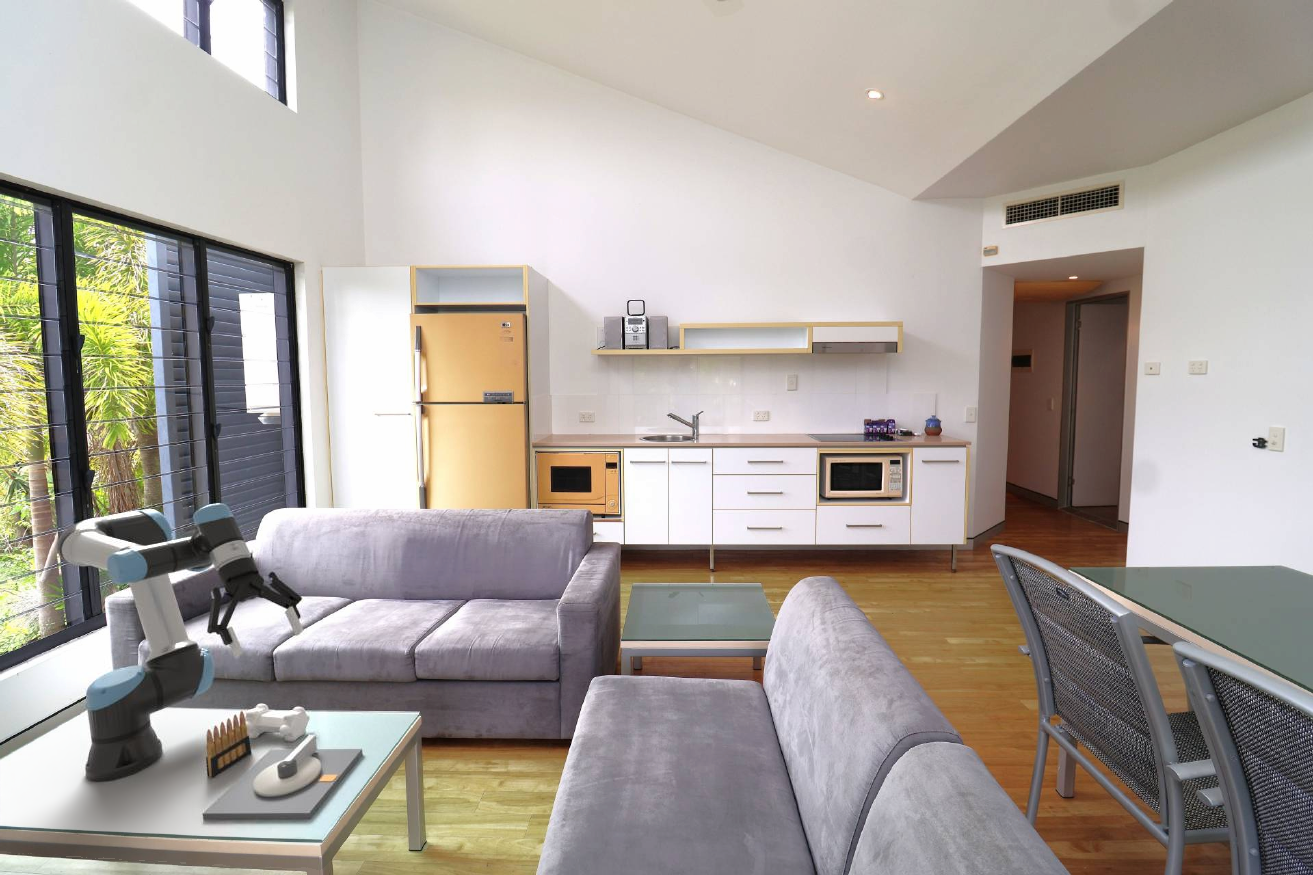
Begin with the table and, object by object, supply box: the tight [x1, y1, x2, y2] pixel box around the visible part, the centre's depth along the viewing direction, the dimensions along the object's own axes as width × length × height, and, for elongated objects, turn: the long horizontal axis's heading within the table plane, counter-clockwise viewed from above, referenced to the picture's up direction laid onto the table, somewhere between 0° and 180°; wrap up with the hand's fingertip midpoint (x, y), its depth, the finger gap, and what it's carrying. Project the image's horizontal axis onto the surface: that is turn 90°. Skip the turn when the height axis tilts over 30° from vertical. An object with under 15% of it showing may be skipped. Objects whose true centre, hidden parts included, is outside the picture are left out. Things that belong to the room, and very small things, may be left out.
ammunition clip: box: [205, 710, 252, 779], centre depth 162 cm, size 11×2×12 cm, turn 163°
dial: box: [253, 734, 321, 797], centre depth 156 cm, size 18×14×4 cm
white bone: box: [245, 703, 311, 743], centre depth 175 cm, size 15×9×8 cm, turn 79°
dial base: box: [202, 748, 363, 821], centre depth 154 cm, size 24×24×2 cm
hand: (270, 644), depth 148 cm, fingers open, 13 cm apart
